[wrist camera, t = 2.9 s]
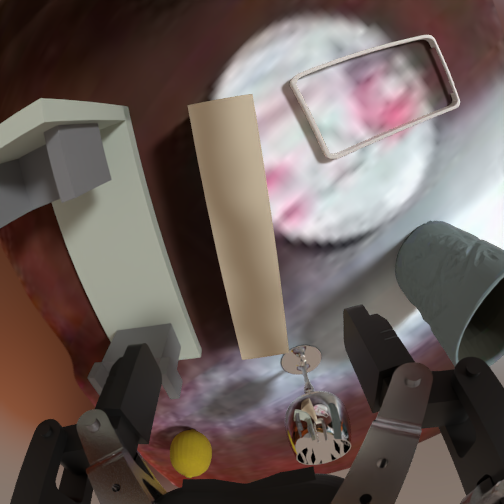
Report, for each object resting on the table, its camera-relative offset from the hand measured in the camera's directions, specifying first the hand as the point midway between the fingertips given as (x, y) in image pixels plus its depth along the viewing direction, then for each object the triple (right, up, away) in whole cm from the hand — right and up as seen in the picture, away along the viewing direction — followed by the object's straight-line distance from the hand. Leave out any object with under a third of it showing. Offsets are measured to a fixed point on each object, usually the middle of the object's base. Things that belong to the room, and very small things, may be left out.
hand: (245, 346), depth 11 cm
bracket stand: (-12, +4, +14) cm, 18 cm away
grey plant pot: (+19, +3, +16) cm, 25 cm away
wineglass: (+6, -8, +20) cm, 22 cm away
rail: (0, +6, +14) cm, 15 cm away
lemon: (-8, -21, +25) cm, 33 cm away
